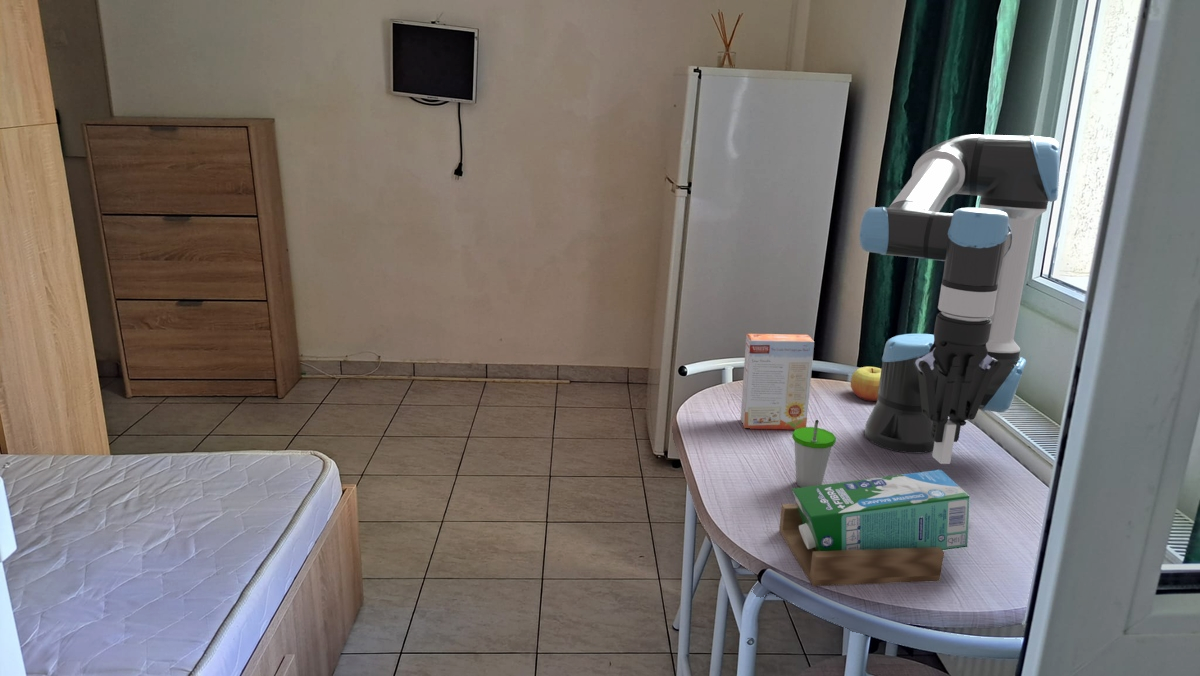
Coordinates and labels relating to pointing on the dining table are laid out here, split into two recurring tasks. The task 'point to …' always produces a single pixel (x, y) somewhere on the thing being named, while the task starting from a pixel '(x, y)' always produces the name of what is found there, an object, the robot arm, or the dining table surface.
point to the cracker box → (776, 381)
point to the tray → (859, 560)
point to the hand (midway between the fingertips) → (941, 459)
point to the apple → (866, 383)
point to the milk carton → (885, 513)
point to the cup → (812, 454)
